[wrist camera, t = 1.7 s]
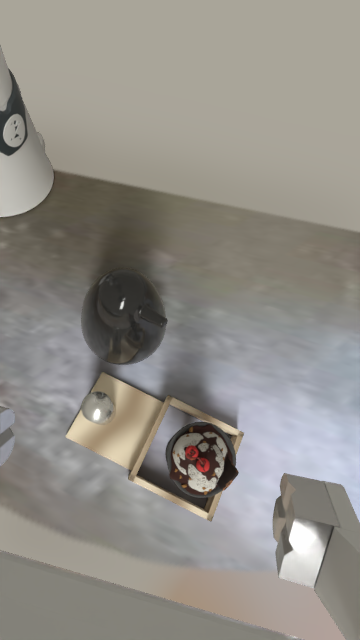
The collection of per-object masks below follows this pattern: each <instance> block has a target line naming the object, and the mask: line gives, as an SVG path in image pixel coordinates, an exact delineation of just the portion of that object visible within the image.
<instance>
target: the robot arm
mask: <svg viewBox="0 0 360 640" xmlns="http://www.w3.org/2000/svg"><path fill="white" fill-rule="evenodd" d="M53 180H54V172H53V168H52V165H51V163H50V161H49V159H48V158H47V156H46V154H45V145H44V140H43V138H42V135H41V134H40V133H39V132H36V130H35V127H34V125H33V123H32V120H31V118H30V116H29V113H28V112H27V109H26V107H25V104H24V102H23V100H22V97H21V91H20V89H19V86H18V84H17V82H16V80H15V77H14V75H13V74H12V72H11V71H10V70H9V69H8V67H7V64H6V61H5V58H4V55H3V52H2V49H1V46H0V217H7V216H13V215H17V214H21V213H24V212H26V211H28V210H30V209H32V208H34V207H35V206H37V205H38V204H39V203H41V202H42V201H43V200H44V199H45V197H46V196H47V195H48V193H49V192H50V190H51V188H52V185H53ZM14 423H15V415H14V412H13V411H12V410H11V409H9V408H5V407H1V406H0V466H1V465H2V464H3V463H4V462H5V461H6V460H7V459H8V457H9V455H10V453H11V452H12V449H13V445H14V434H13V432H12V430H11V429H10V427H11V426H12V425H13V424H14ZM280 490H281V496H280V497H278V498H277V499H276V503H275V507H274V514H273V535H274V538H275V540H276V541H277V542H278V545H277V549H276V561H277V569H278V577H279V578H282V579H285V580H289V581H292V582H296V583H299V584H302V585H305V586H308V587H312V588H315V589H314V591H315V592H316V594H317V595H318V597H319V598H320V600H321V602H322V603H323V605H324V606H325V608H326V609H327V611H328V612H329V614H330V616H331V617H332V619H333V620H334V622H335V623H336V625H337V626H338V628H339V630H340V631H341V633H342V634H343V636H344V637H345V639H346V640H360V523H359V521H358V518H357V516H356V514H355V511H354V509H353V507H352V505H351V502H350V500H349V498H348V495H347V493H346V491H345V488H344V487H343V486H342V485H341V484H336V483H331V482H326V481H319V480H314V479H310V478H305V477H300V476H296V475H291V474H287V473H284V474H283V476H282V479H281V483H280ZM0 640H304V639H300V638H297V637H294V636H290V635H287V634H284V633H280V632H277V631H273V630H269V629H266V628H263V627H259V626H256V625H252V624H249V623H245V622H242V621H238V620H235V619H232V618H229V617H225V616H222V615H218V614H215V613H212V612H208V611H205V610H202V609H198V608H195V607H192V606H188V605H185V604H181V603H178V602H174V601H171V600H168V599H165V598H161V597H158V596H155V595H151V594H148V593H145V592H141V591H138V590H134V589H131V588H128V587H124V586H121V585H117V584H114V583H111V582H108V581H104V580H101V579H97V578H94V577H90V576H87V575H83V574H80V573H77V572H73V571H70V570H67V569H63V568H60V567H56V566H53V565H50V564H46V563H43V562H39V561H36V560H33V559H29V558H26V557H22V556H19V555H16V554H12V553H9V552H5V551H1V550H0Z"/></svg>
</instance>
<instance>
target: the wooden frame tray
mask: <svg viewBox="0 0 360 640" xmlns="http://www.w3.org/2000/svg"><path fill="white" fill-rule="evenodd" d="M169 404H170V405H172V406H174V407H176V408H178V409H180V410H182V411H184V412H186V413H188V414H190V415H192V416H194V417H196V418H198V419H200V420H202V421H204V422H208V423H212V424H214V425H216V426H218V427H219V428H221V429H222V430H223V431H224V432H226V433H228V434H230V435H232V437H231V442H232V444H233V446H234V449H235V454H237V451H238V448H239V445H240V443H241V440H242V437H243V435H244V433H243V432H241V431H239V430H237V429H235V428H233V427H231V426H229V425H227V424H225V423H223V422H221V421H219V420H217V419H215V418H213V417H211V416H209V415H207V414H205V413H203V412H201V411H199V410H197V409H195V408H193V407H191V406H189V405H187V404H185V403H183V402H181V401H179V400H177V399H175V398H173V397H171V396H169V395H168V396H167V397H166V399H165V401H164V403H163V402H161V401H159V400H157V399H155V398H153V397H151V396H149V395H147V394H145V393H144V392H142V391H140V390H138V389H136V388H134V387H132V386H130V385H128V384H126V383H124V382H122V381H120V380H118V379H116V378H114V377H112V376H110V375H108V374H106V373H104V372H102V373H101V375H100V377H99V379H98V380H97V382H96V384H95V386H94V387H93V389H92V391H91V393H90V394H88V395H87V396H86V397H85V398H84V400H83V402H82V405H81V410H80V412H79V414H78V416H77V417H76V419H75V421H74V423H73V424H72V426H71V428H70V430H69V431H68V433H67V435H66V437H67V438H68V439H70V440H72V441H74V442H76V443H78V444H80V445H82V446H84V447H86V448H88V449H90V450H92V451H94V452H96V453H98V454H100V455H102V456H104V457H106V458H108V459H110V460H112V461H114V462H116V463H118V464H120V465H122V466H123V467H125V468H127V469H129V470H131V472H130V474H129V477H128V480H130V481H132V482H134V483H136V484H138V485H140V486H142V487H144V488H146V489H148V490H150V491H152V492H154V493H156V494H158V495H160V496H162V497H164V498H166V499H168V500H170V501H172V502H173V503H175V504H177V505H179V506H181V507H183V508H185V509H187V510H189V511H191V512H193V513H195V514H197V515H199V516H201V517H203V518H205V519H207V520H209V521H212V518H213V516H214V513H215V510H216V507H217V505H218V502H219V499H220V497H221V494H222V491H223V490H222V491H221V492H219V493H218V494H216V495H213V496H211V497H208V499H207V502H206V505H205V507H204V509H203V508H201V507H199V506H197V505H195V504H193V503H191V502H189V501H187V500H185V499H183V498H181V497H179V496H177V495H175V494H173V493H171V492H169V491H167V490H165V489H163V488H161V487H159V486H157V485H155V484H153V483H152V482H150V481H148V480H146V479H144V478H142V477H140V476H138V475H136V474H137V472H138V470H139V468H140V466H141V464H142V462H143V460H144V457H145V455H146V453H147V451H148V449H149V447H150V445H151V442H152V440H153V438H154V436H155V434H156V432H157V430H158V428H159V425H160V423H161V421H162V419H163V417H164V415H165V413H166V411H167V408H168V406H169Z"/></svg>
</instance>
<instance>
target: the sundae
mask: <svg viewBox="0 0 360 640" xmlns="http://www.w3.org/2000/svg"><path fill="white" fill-rule="evenodd" d="M166 460H167V464H168V469H169V472H170V474H169V476H170V478H171V479H172V480H173V481H174V483H175V484H176V485H177V487H178V488H179V489H180V490H181V491H183V492H184V493H185V494H188V495H190V496H193V497H197V498H205V497H211V496H213V495H216V494H218V493H219V492H221V491H222V490H225V489H226V488H227V487H228V486H229V485H230V484H231V483H232V481H233V480H234V478H235V477H236V476H237V475H238V470H237V469H236V467H235V465H236V454H235V449H234V446H233V444H232V442H231V440H230V438H229V437H228V435H227V434H226V433H225V432H224V431H223V430H222V429H221V428H219V427H218V426H216V425H214V424H212V423H208V422H195V423H192V424H189V425H187V426H185V427H183V428H182V429H181V430H179V431H178V432H177V433H176V434H175V435H174V436H173V438H172V439H171V440H170V442H169V443H168V446H167V448H166Z"/></svg>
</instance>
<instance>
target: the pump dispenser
mask: <svg viewBox="0 0 360 640" xmlns="http://www.w3.org/2000/svg"><path fill="white" fill-rule="evenodd" d="M166 324H167V318H166V314H165V308H164V304H163V301H162V299H161V297H160V294H159V293H158V291H157V289H156V287H155V286H154V285H153V283H152V282H151V281H150V280H149V279H148V278H147V277H146V276H145V275H143V274H142V273H140V272H138V271H136V270H134V269H130V268H116V269H112V270H110V271H107V272H106V273H104V274H103V275H101V276H100V277H99V278H98V279H97V280H96V281H95V282H94V283H93V284H92V286H91V287H90V289H89V290H88V292H87V294H86V297H85V299H84V302H83V306H82V313H81V327H82V333H83V336H84V339H85V341H86V343H87V345H88V347H89V348H90V349H91V351H92V352H93V353H94V354H95V355H97V356H98V357H99V358H101V359H103V360H104V361H107V362H109V363H113V364H118V365H129V364H134V363H138V362H140V361H142V360H144V359H146V358H148V357H149V356H150V355H152V354H153V353H154V352H155V351H156V350H157V348H158V347H159V346H160V344H161V342H162V340H163V337H164V334H165V330H166Z"/></svg>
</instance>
